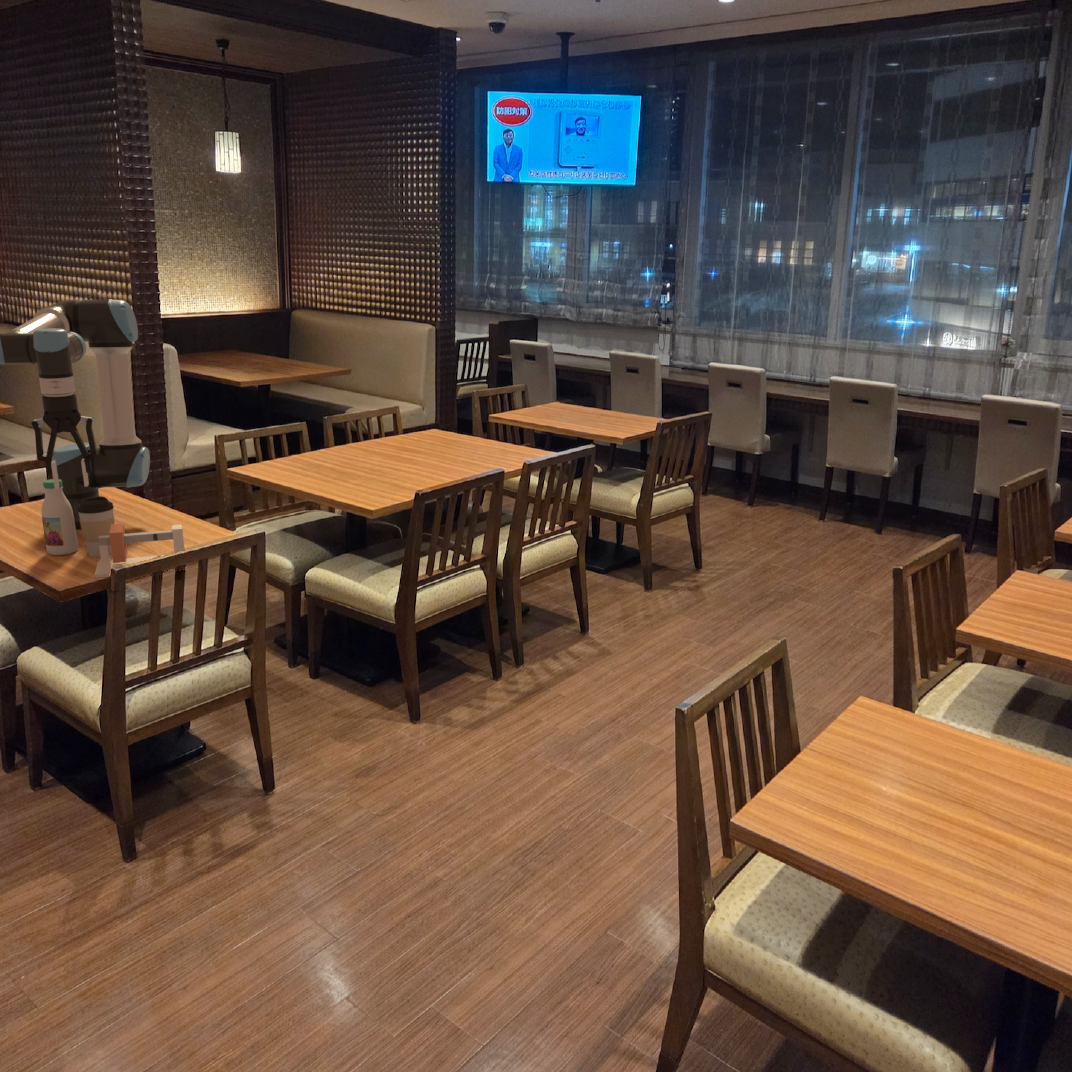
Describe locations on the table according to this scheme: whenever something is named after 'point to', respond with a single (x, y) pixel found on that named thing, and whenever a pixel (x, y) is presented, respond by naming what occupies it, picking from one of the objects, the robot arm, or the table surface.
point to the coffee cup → (95, 522)
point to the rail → (108, 562)
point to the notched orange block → (118, 543)
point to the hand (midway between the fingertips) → (71, 486)
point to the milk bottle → (58, 521)
